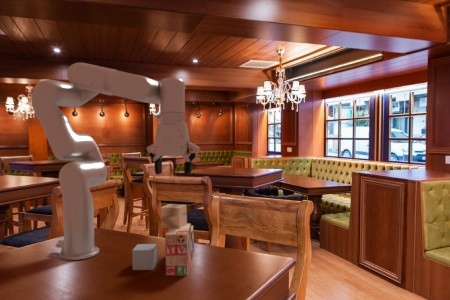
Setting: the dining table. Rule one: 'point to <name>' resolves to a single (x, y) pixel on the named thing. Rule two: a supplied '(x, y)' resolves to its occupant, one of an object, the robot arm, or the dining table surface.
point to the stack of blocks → (179, 250)
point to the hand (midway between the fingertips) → (172, 174)
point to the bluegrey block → (144, 256)
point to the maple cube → (173, 215)
